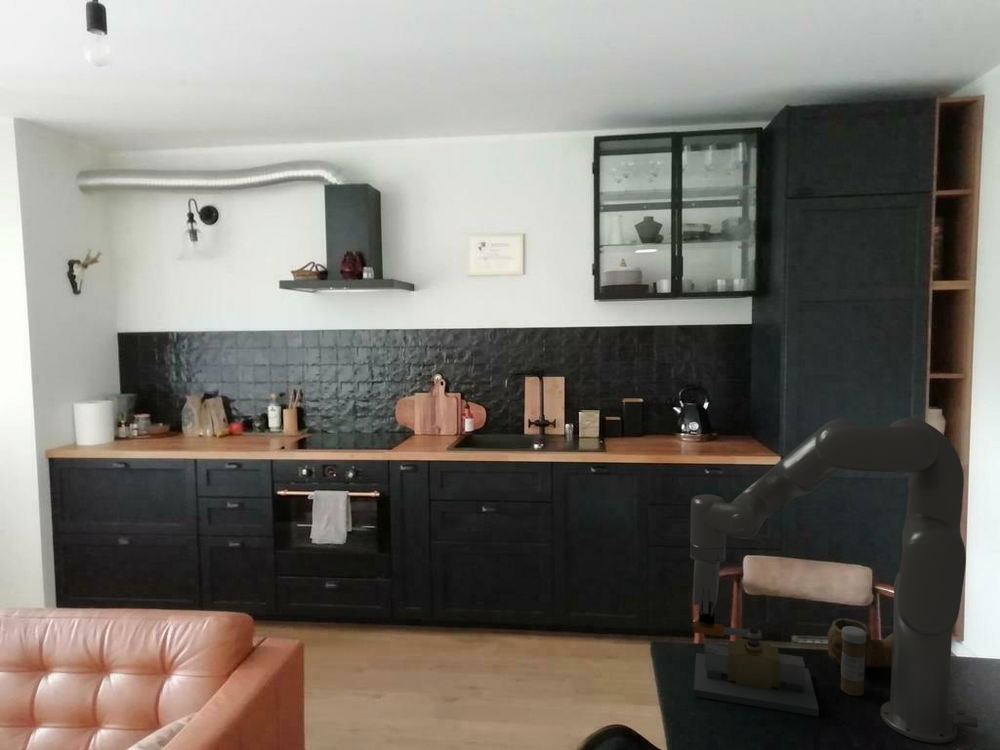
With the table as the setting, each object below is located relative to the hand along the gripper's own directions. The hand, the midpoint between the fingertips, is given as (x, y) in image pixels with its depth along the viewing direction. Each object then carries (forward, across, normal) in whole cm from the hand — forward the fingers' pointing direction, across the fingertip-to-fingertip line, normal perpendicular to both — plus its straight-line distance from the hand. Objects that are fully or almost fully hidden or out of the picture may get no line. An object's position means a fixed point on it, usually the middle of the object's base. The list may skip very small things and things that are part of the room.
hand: (706, 630), depth 149 cm
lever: (-1, +3, +4) cm, 6 cm away
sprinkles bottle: (+10, -2, +30) cm, 31 cm away
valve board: (+10, +3, +10) cm, 14 cm away
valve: (+8, +3, +10) cm, 13 cm away
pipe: (+10, -13, +34) cm, 38 cm away
